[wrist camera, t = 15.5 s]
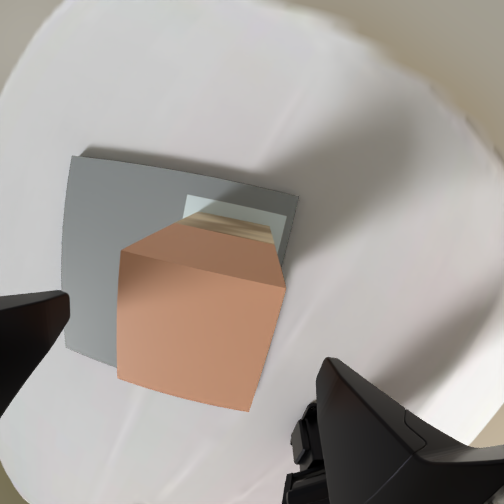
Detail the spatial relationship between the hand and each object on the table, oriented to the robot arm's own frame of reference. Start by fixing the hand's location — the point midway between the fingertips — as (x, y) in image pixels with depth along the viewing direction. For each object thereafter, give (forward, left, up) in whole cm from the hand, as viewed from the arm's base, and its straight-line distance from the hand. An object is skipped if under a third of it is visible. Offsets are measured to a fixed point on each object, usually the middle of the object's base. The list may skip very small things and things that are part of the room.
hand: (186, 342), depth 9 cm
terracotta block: (0, 0, -6) cm, 6 cm away
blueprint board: (+5, +4, -13) cm, 14 cm away
